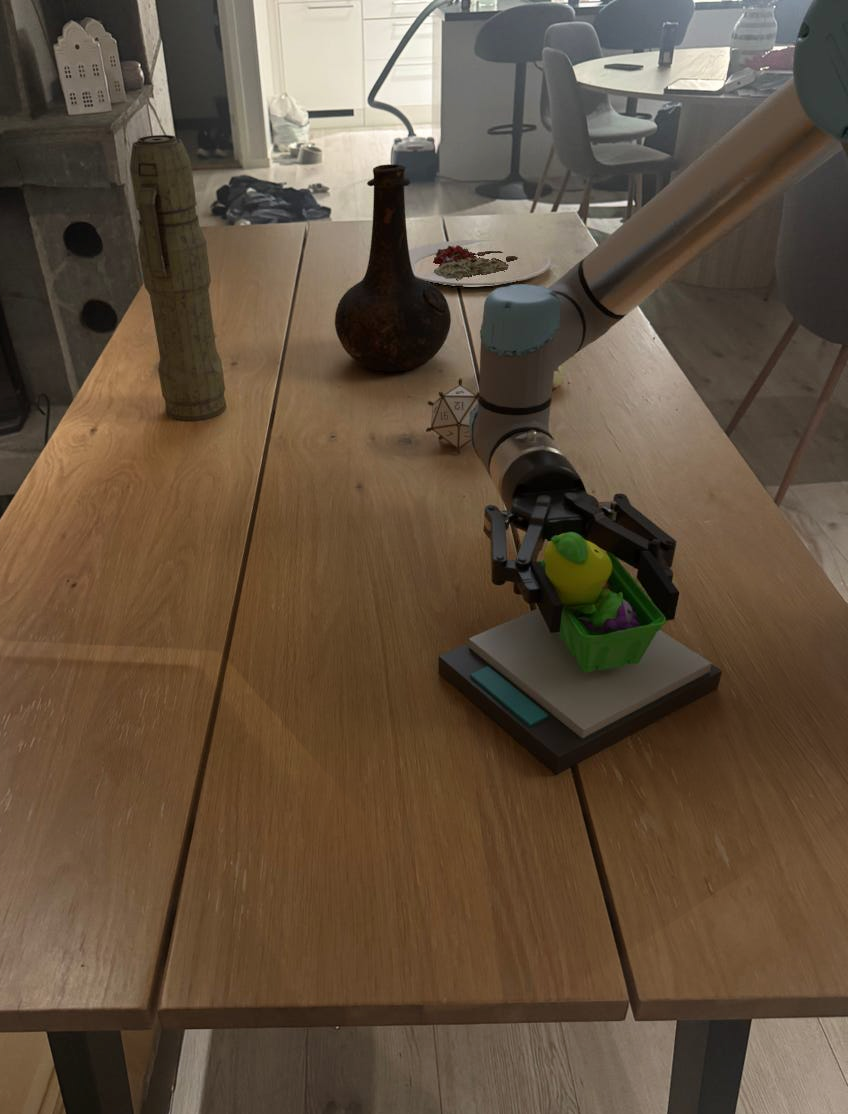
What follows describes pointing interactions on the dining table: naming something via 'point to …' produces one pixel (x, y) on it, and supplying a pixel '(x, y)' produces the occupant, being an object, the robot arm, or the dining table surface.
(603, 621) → the fruit basket
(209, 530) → the dining table surface
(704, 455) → the dining table surface
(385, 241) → the glass bottle
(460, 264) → the plated food
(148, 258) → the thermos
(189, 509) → the dining table surface
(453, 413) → the game die
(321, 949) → the dining table surface
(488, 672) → the kitchen scale
